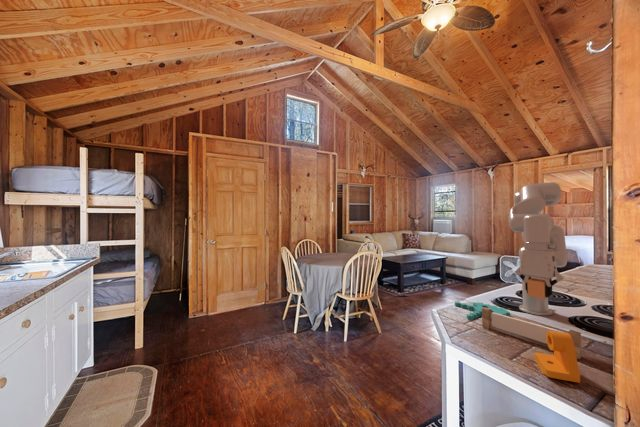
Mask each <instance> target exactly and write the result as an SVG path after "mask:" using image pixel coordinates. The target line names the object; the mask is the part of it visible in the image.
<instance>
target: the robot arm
mask: <svg viewBox="0 0 640 427" xmlns="http://www.w3.org/2000/svg"><path fill="white" fill-rule="evenodd" d="M562 194H563V192H562V188H561V186H560V184H558V183H557V182H554V181H553V182H552V181H551V182H539V183H536V182H535V183H529V184H526V185H524V186H522V187H521V189H520V191H518V192H516V193H514V194H513V204H514V205H513V206H512V207H511V208H510V210H509V213H508V227H509V229H510V230H511V231H512V232H515V233H521V239H522V242H523V246H522V247H520V248H519V250H518V257H519V258H518V259H519V262H520V266H519V267H518V268H517V269H516V270H514V274H516V276H518V277H519V278H520V279H521V285H522V286H521V288H522V289H521V290H522V291H521V292H522V304H520V305H519V306H518V308H519V310H520V311H521V312H524V313H527V314H531V315H537V316H552V315H553V314H554V313H553V312H554V311H553V310H552V309H550V308H549V298H550V297H551V296H553V286H555V285H556V284H558V283H560V282H562V281H564V280H565V278H564V276H563V275H562V274H560V272H559V271H558V268H564V267H566V266H567V263H568V254H567V253H568V252H567V246H566V235H565V232H564V230H563V227H561V226H559V225H557V224H555V222H554V218H553V217H552V216H551V215H549V214H548V213H540V212H542V211H543V210H544V209H545V208H546V207H554V206H556V205H558V204H559V203H560V200H561V198H562ZM531 278H536V279H542V280H545V282H546V286H545V296H546V297H547V298H545V299H542V298H537V297H532V296H528V285H527V280H529V279H531ZM553 278H554V279H553Z"/></svg>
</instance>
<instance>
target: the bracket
mask: <svg viewBox="0 0 640 427" xmlns="http://www.w3.org/2000/svg"><path fill="white" fill-rule="evenodd" d="M546 340H547V344H548V347H549V348H548V347H547V348H548V349H549V351H553V354H547V353H543V352H542V353H541V352H534V360H535V362H536V365H537V367H538V369H539V371H541V373H542V374H543V375H544V376H546V377H548V378H552V379H557V380H563V381H567V382H568V381H569V382H572V383H573V382H574V383H578V384H581V374H580V369H579V364H578V359H577V358H576V353H575V347H574V342H573V339H572V337H571V335H570V334H569V333H568V332H567V333H561V332H553V331H547V333H546Z"/></svg>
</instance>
